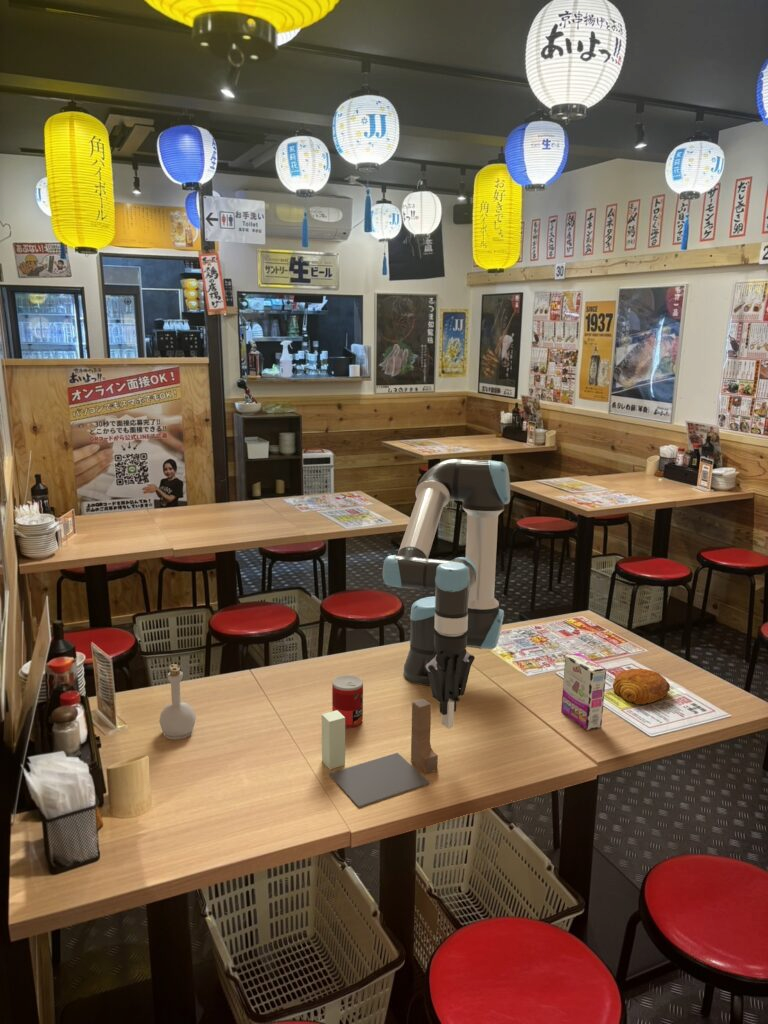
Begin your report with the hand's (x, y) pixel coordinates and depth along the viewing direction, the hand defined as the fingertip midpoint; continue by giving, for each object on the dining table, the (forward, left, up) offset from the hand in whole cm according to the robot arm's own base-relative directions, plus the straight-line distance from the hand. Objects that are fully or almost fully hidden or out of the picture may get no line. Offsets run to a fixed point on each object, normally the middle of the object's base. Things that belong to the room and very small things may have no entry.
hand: (447, 725), depth 171 cm
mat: (+18, 0, -9) cm, 20 cm away
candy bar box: (-42, +2, -9) cm, 43 cm away
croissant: (-67, -1, -9) cm, 68 cm away
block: (+24, -11, -9) cm, 28 cm away
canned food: (+12, -27, -9) cm, 31 cm away
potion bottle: (+52, -42, -9) cm, 68 cm away
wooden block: (+6, 0, -9) cm, 11 cm away
